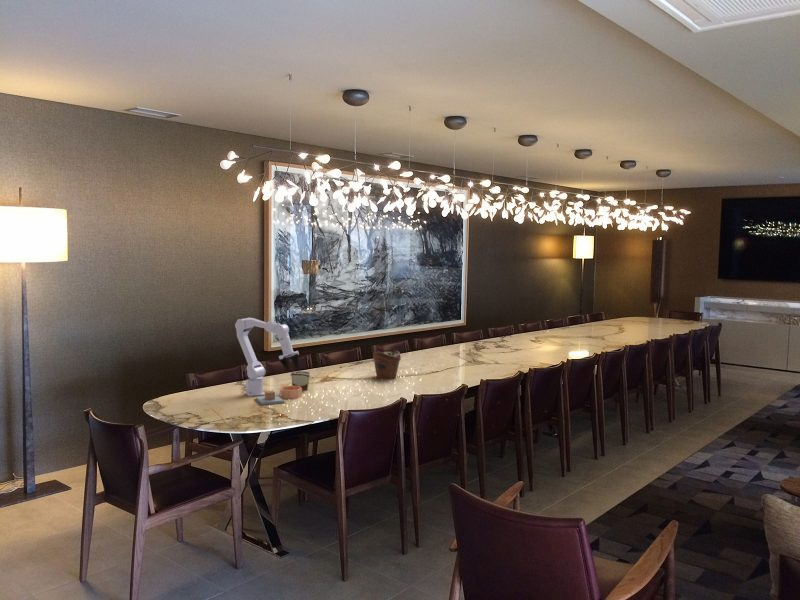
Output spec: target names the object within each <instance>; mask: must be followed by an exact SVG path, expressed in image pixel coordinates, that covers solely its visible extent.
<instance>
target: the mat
mask: <svg viewBox="0 0 800 600" xmlns="http://www.w3.org/2000/svg"><path fill="white" fill-rule="evenodd" d="M253 400H254V402H256V404H258V405H259V406H269V405H281V404H287V403H286V401H285V400H284V402H280V403H269V404H261V403H260V402H259V401H258V400H257V399H256V398H253Z"/></svg>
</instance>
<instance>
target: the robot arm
mask: <svg viewBox="0 0 800 600" xmlns="http://www.w3.org/2000/svg"><path fill="white" fill-rule="evenodd" d="M234 326H235V327H234V328H235V330H236V338H237V340H238V342H239V345H240V347H241V350H242V352H243V355H244V357H245V360H246V363H247V365H246V368H245V369H246V375H247V377H248V379H246V380H245V394H246V396H247V397H253V396H263V395H264V396H265V392H264V376H265V375H266V373H267V372H266V371H267V370H266V368H265V367H264V366H263V365H262V362H260V361H259V360H258V358H257V357H256V353H255V352H254V348H253V347H252V343H251V341H250V339H249V333H250V332H251V331H252V329H253V328H254V327H258V328H260V329H265V332H268V333H272V334H274V335H275V336H277V338H278V341H279V343H280V348H281V351H282V355H279V356H278V358H279V362H280V363H281V364H282V366H283V368H284V369H285V371H286V372H289V371H291V366H290V359H291V361H292V362H293V366H294V368H295V369H299V367H300V359H301V358H300V357H301V355H300V353H299V350H296V351H294V349H293V345H292V341H291V338H290V335H289V333H290V327H289V326H288V324H285V323H284V324H281V323H280V322H274V321H273V320H270V321H267V322H266V321H263V320H261V319H257V318H255V317H246V318H239V319H237V320H236V321H235V324H234Z"/></svg>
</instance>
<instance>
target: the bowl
mask: <svg viewBox="0 0 800 600" xmlns="http://www.w3.org/2000/svg"><path fill="white" fill-rule="evenodd" d="M302 396H303V390H302V388H301V387H300V386H292V385H285V386H281V387H279V397H280V398H281V399H299V398H300V397H302Z"/></svg>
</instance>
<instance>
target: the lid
mask: <svg viewBox="0 0 800 600" xmlns="http://www.w3.org/2000/svg"><path fill="white" fill-rule="evenodd" d="M264 394H265V395H264V396H257V397H256V398H255V399H257V400H258V401H259V402H260V403H261V404H269V403H280V402H284V401H285V400H284V399H283V398H282V397H281V396H280V395H277V394H276V392H275V391H274V390H264Z"/></svg>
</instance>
